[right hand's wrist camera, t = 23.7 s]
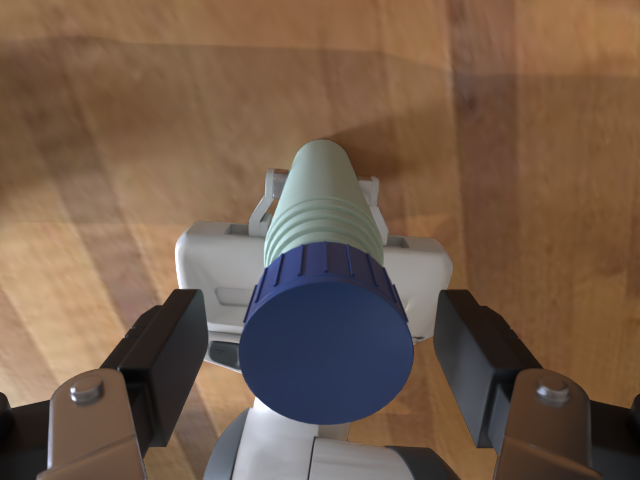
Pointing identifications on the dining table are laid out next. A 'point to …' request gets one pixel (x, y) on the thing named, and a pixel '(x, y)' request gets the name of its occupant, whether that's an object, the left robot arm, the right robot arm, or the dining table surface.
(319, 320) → the cap
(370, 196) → the left robot arm
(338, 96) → the dining table surface
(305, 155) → the bottle
